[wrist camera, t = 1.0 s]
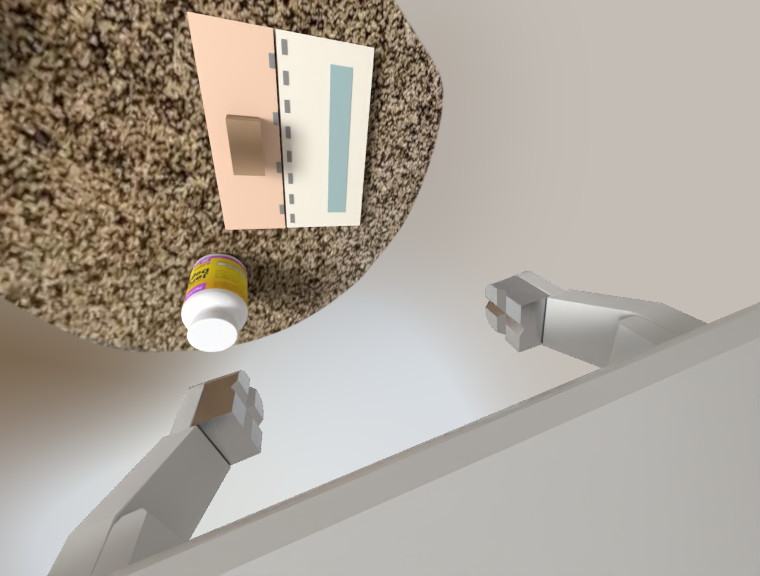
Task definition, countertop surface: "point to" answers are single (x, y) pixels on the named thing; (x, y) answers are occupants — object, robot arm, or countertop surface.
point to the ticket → (322, 127)
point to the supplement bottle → (215, 302)
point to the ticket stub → (241, 118)
